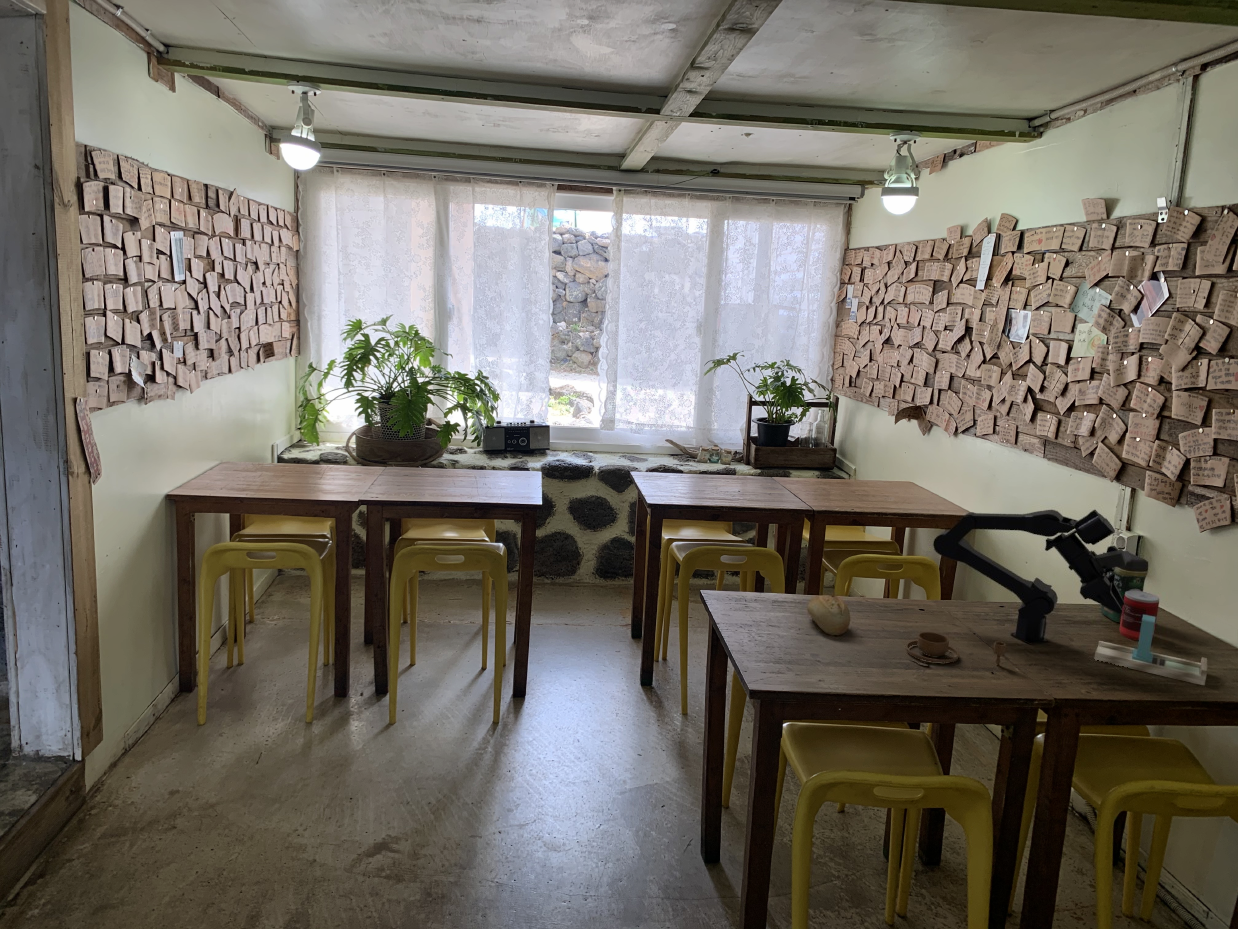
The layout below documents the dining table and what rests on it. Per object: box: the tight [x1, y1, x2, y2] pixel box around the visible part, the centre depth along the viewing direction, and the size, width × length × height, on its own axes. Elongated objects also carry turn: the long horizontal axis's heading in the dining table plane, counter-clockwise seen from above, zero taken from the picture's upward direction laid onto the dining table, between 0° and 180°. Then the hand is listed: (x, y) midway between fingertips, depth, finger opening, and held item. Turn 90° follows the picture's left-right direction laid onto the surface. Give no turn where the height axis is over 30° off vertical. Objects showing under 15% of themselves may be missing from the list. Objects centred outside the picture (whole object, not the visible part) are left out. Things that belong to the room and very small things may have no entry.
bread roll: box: [806, 594, 851, 636], centre depth 218 cm, size 10×15×8 cm, turn 11°
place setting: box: [905, 631, 1007, 665], centre depth 200 cm, size 18×20×6 cm
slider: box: [1132, 614, 1155, 663], centre depth 201 cm, size 4×6×10 cm, turn 146°
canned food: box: [1119, 591, 1160, 641], centre depth 220 cm, size 8×8×11 cm
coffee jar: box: [1100, 550, 1149, 623], centre depth 231 cm, size 10×8×19 cm
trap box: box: [1093, 640, 1208, 686], centre depth 201 cm, size 22×9×4 cm, turn 56°
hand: (1122, 608), depth 203 cm, fingers open, 6 cm apart
